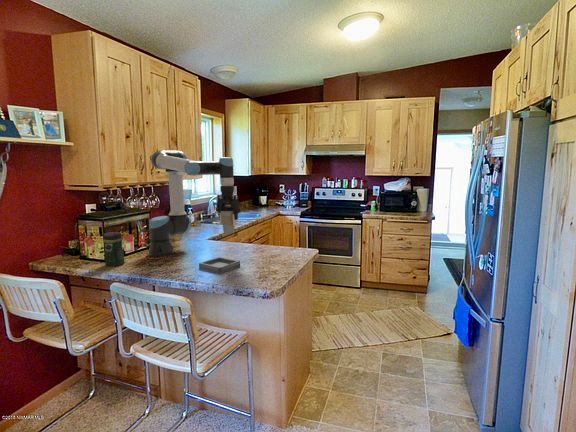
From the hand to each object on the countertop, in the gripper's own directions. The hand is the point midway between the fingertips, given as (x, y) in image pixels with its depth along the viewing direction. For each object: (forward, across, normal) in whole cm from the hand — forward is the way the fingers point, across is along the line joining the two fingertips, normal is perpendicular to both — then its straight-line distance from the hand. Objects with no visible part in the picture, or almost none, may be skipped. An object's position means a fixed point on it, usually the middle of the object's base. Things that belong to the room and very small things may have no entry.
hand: (228, 224), depth 196 cm
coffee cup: (+5, 0, 0) cm, 5 cm away
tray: (+22, +4, -12) cm, 25 cm away
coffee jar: (+22, -52, -39) cm, 68 cm away
